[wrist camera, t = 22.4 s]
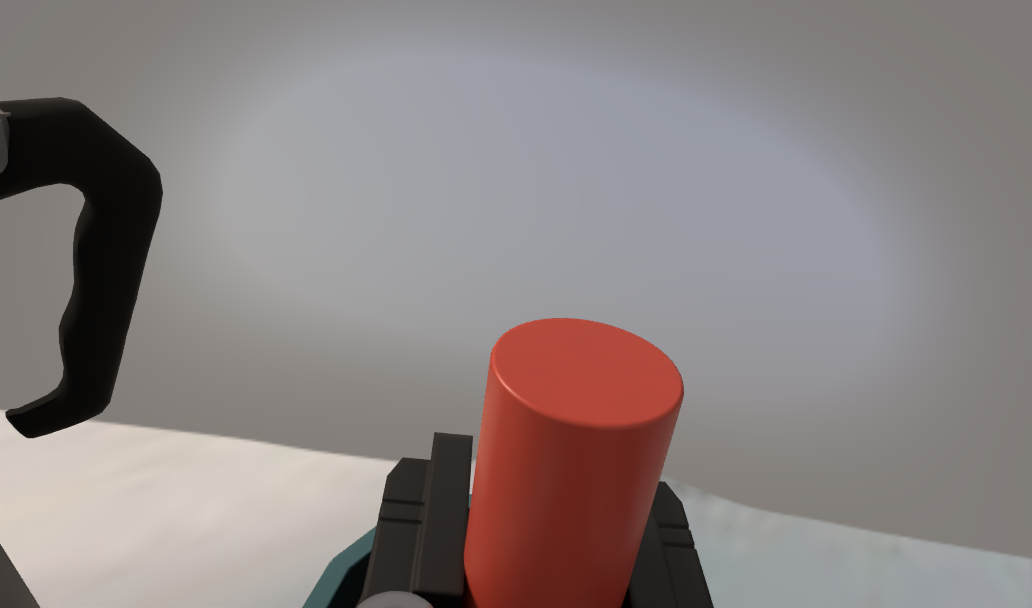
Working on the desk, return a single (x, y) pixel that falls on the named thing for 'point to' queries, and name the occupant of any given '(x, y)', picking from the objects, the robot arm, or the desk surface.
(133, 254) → the coffeepot
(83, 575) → the desk surface
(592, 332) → the red cylindrical rod
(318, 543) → the desk surface
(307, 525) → the desk surface
